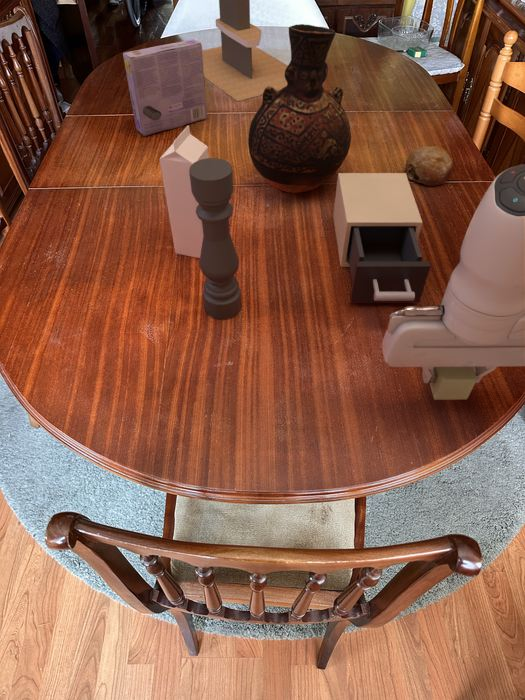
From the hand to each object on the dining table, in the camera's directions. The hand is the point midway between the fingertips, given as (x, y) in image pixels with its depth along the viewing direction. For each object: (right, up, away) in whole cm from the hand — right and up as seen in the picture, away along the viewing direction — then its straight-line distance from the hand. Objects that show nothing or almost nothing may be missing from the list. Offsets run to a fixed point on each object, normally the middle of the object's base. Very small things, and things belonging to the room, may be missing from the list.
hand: (450, 379), depth 69 cm
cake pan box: (-48, +61, +59) cm, 98 cm away
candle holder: (-32, +11, +16) cm, 38 cm away
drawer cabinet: (-5, +25, +28) cm, 37 cm away
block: (0, -1, +1) cm, 2 cm away
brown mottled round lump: (+11, +43, +43) cm, 62 cm away
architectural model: (-32, +88, +83) cm, 125 cm away
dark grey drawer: (-5, +16, +18) cm, 25 cm away
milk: (-38, +23, +27) cm, 52 cm away
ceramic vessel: (-18, +40, +41) cm, 60 cm away
